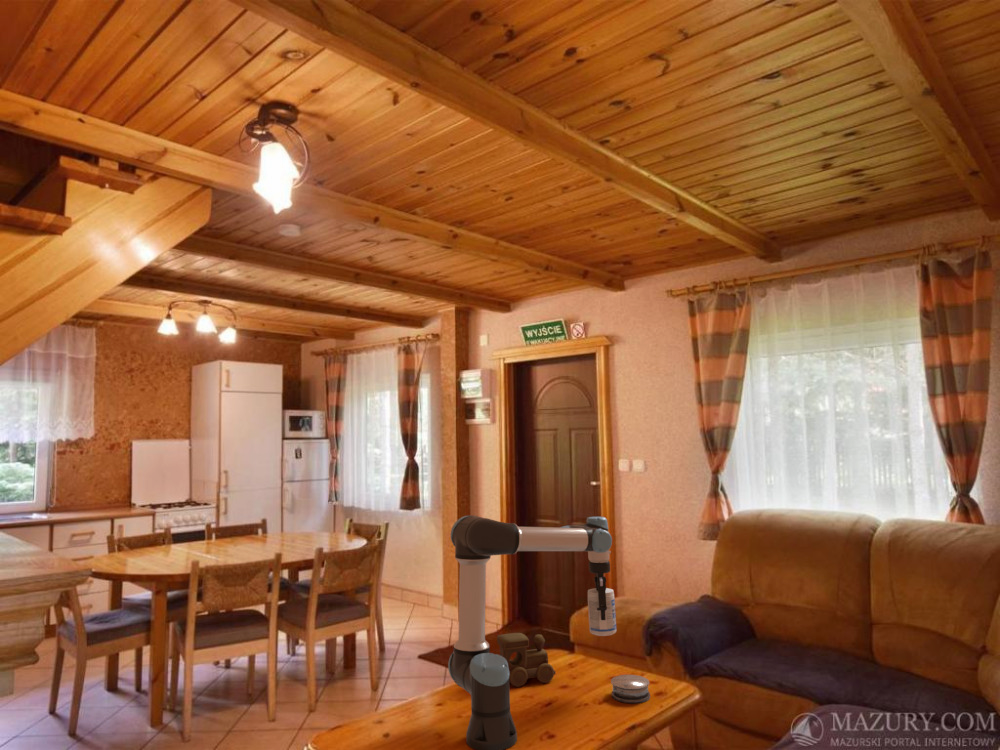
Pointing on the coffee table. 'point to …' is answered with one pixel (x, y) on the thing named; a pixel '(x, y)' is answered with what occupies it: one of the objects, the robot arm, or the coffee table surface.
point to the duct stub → (630, 689)
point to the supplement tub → (594, 613)
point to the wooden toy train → (525, 658)
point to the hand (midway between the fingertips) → (602, 625)
